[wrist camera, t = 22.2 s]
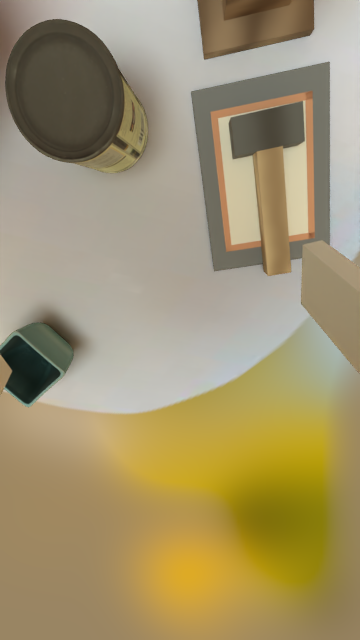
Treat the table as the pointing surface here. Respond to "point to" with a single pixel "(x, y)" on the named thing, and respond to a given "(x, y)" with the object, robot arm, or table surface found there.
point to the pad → (238, 174)
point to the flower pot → (34, 361)
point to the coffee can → (74, 98)
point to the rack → (252, 23)
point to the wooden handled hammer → (270, 173)
